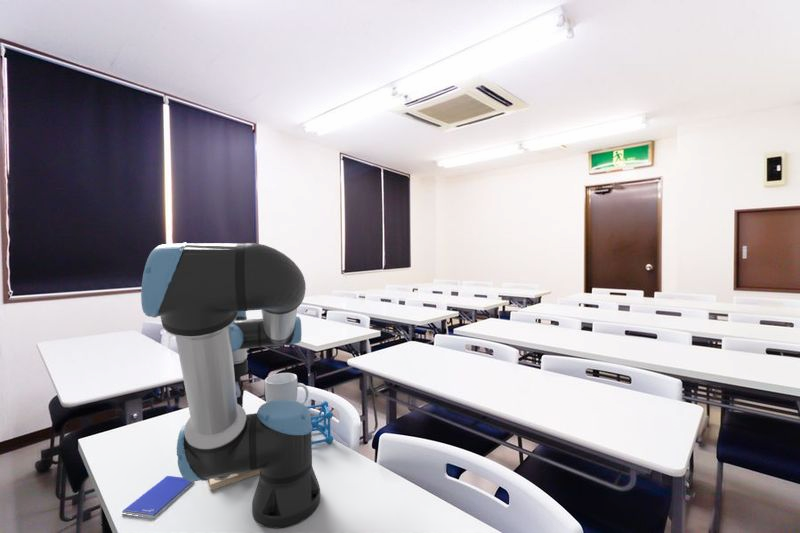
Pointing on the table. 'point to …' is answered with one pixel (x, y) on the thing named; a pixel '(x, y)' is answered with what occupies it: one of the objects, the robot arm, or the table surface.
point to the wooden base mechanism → (230, 479)
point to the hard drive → (158, 497)
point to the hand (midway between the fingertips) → (235, 440)
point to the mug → (283, 387)
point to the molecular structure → (323, 427)
